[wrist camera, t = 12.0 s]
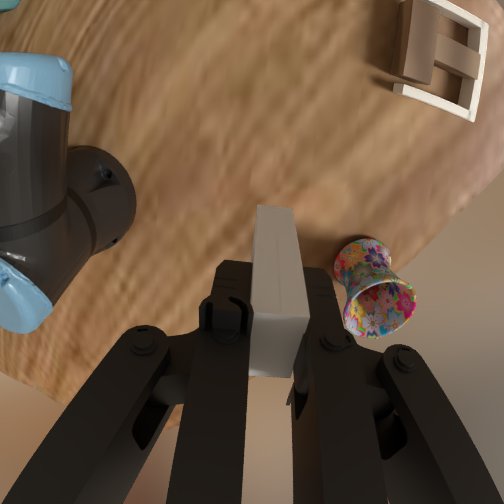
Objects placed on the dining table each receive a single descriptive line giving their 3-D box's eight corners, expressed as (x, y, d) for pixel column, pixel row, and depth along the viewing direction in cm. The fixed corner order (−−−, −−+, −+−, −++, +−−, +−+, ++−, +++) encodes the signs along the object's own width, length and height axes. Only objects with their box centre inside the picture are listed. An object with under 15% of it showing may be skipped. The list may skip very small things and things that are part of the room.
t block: (389, 74, 29) (403, 74, 26) (399, 3, 24) (413, -3, 20) (456, 99, 29) (472, 104, 26) (466, 33, 24) (483, 32, 21)
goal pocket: (392, 92, 30) (402, 93, 28) (406, -9, 23) (416, -14, 20) (461, 118, 30) (474, 122, 28) (475, 25, 23) (488, 24, 20)
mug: (325, 240, 41) (340, 289, 32) (390, 226, 40) (419, 271, 31) (335, 305, 47) (347, 357, 38) (391, 292, 46) (412, 342, 37)
